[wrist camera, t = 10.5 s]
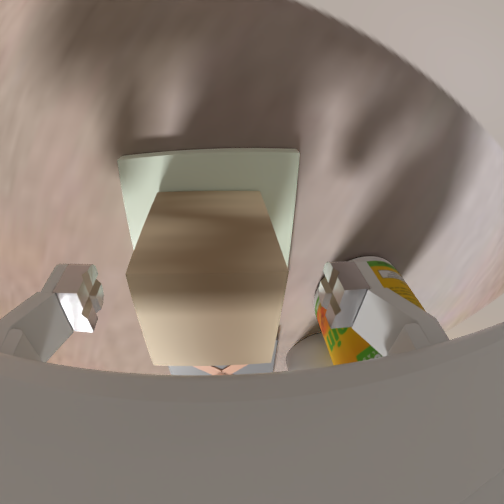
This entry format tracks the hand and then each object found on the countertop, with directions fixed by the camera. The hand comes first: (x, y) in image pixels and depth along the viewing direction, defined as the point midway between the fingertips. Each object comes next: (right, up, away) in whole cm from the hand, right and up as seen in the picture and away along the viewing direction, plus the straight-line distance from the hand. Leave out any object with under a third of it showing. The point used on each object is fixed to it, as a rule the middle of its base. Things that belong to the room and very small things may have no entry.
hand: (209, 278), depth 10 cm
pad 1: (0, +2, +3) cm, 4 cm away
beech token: (0, +2, +2) cm, 3 cm away
